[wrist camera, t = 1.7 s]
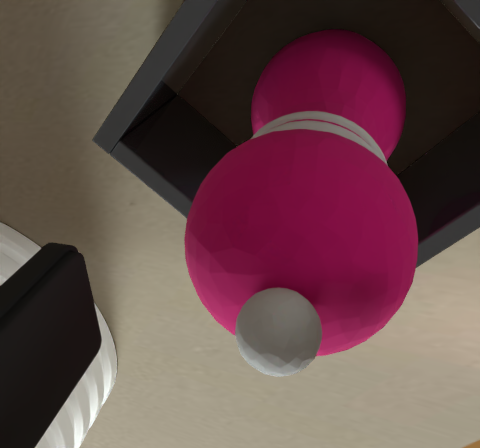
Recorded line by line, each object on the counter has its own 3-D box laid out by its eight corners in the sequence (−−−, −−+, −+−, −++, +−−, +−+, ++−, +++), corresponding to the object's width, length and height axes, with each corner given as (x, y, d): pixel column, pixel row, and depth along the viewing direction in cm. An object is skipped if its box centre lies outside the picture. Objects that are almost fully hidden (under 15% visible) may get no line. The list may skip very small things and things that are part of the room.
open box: (334, -156, 20) (321, -208, 13) (546, 81, 22) (623, 137, 16) (156, 94, 28) (91, 140, 21) (329, 246, 30) (320, 329, 24)
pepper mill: (263, 23, 24) (45, 189, 8) (405, 12, 22) (531, 199, 6) (271, 149, 28) (136, 449, 11) (394, 149, 26) (450, 503, 9)
